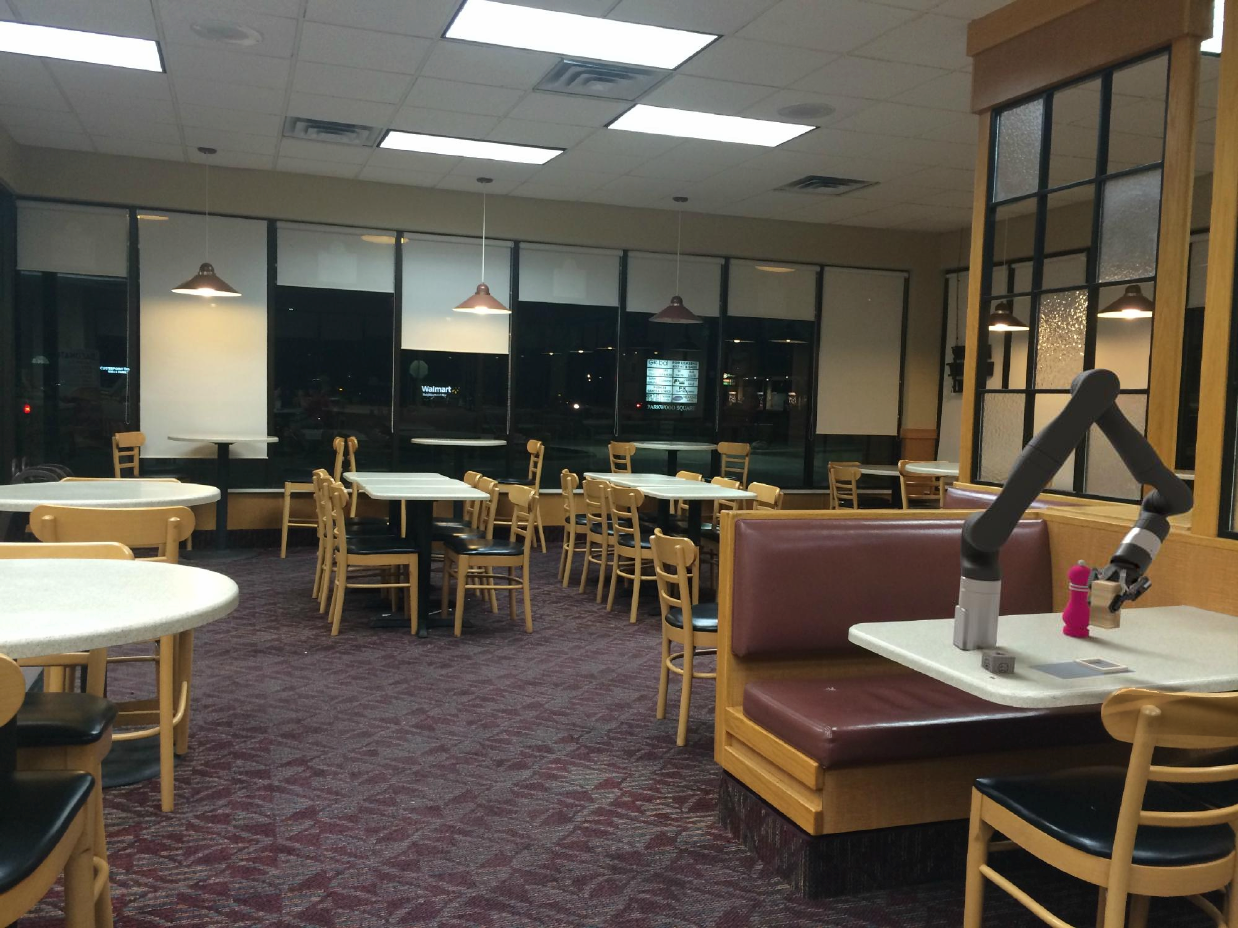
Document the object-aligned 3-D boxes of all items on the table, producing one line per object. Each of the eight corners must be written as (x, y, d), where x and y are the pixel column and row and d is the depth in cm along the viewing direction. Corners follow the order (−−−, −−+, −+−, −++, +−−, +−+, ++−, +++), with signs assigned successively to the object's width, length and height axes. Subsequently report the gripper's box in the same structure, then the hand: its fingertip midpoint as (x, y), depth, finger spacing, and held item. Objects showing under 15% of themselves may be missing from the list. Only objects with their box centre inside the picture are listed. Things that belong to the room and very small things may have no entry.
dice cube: (991, 678, 208) (993, 656, 207) (980, 672, 212) (982, 650, 212) (1013, 679, 208) (1015, 656, 208) (1002, 672, 213) (1004, 650, 213)
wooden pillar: (1107, 629, 213) (1111, 584, 213) (1088, 624, 217) (1092, 581, 216) (1119, 627, 216) (1123, 583, 215) (1100, 623, 219) (1104, 579, 219)
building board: (1063, 684, 206) (1064, 674, 206) (1026, 671, 215) (1027, 662, 215) (1134, 676, 215) (1135, 667, 214) (1096, 664, 224) (1097, 656, 224)
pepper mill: (1087, 639, 249) (1094, 563, 247) (1057, 634, 253) (1063, 559, 252) (1093, 634, 255) (1099, 560, 253) (1064, 629, 259) (1070, 556, 258)
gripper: (1100, 536, 225) (1065, 591, 220) (1161, 546, 213) (1125, 604, 207) (1112, 558, 228) (1077, 612, 223) (1172, 568, 216) (1137, 626, 210)
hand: (1100, 608), depth 215 cm, fingers closed on wooden pillar, 4 cm apart
